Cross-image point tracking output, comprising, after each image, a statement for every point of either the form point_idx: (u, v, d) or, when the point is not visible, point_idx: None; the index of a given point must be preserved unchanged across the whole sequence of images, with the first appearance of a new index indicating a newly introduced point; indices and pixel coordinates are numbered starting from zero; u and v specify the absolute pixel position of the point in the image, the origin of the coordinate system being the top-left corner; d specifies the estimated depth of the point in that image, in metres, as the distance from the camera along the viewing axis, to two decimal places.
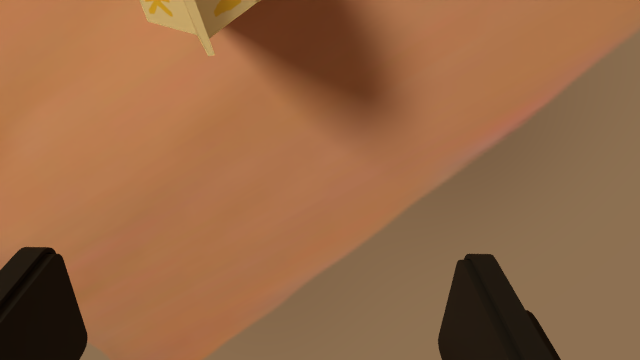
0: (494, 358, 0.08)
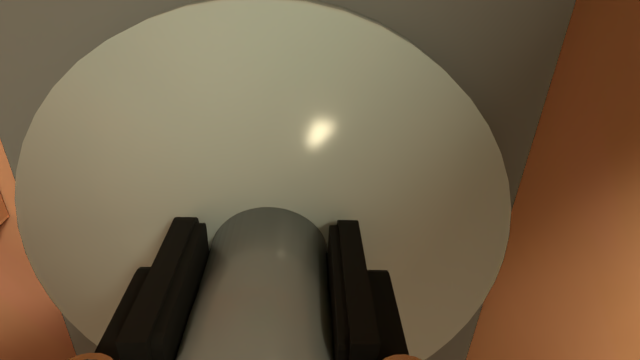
0: (333, 305, 0.09)
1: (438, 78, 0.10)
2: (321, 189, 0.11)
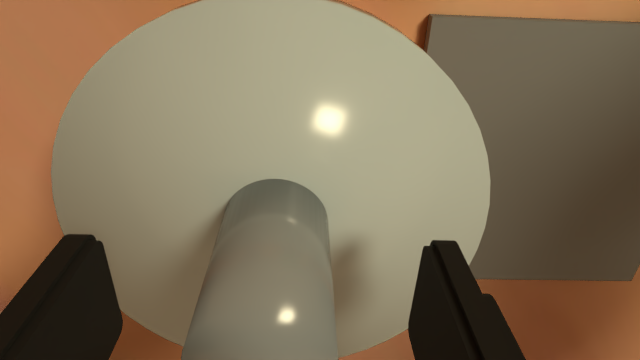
0: (449, 336, 0.08)
1: (424, 63, 0.11)
2: (322, 162, 0.12)
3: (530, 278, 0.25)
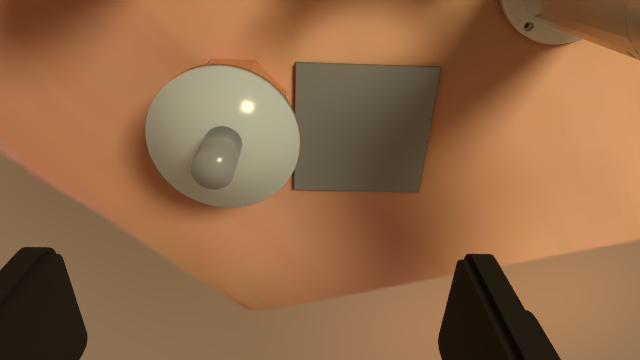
0: (494, 358, 0.08)
1: (266, 87, 0.35)
2: (237, 120, 0.36)
3: (365, 190, 0.48)
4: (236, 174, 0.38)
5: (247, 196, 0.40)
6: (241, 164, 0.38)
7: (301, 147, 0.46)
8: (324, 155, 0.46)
